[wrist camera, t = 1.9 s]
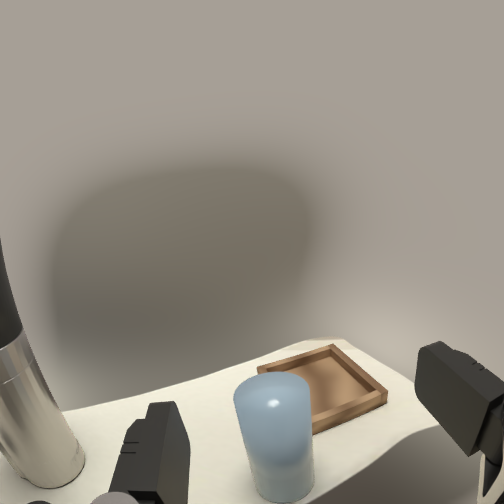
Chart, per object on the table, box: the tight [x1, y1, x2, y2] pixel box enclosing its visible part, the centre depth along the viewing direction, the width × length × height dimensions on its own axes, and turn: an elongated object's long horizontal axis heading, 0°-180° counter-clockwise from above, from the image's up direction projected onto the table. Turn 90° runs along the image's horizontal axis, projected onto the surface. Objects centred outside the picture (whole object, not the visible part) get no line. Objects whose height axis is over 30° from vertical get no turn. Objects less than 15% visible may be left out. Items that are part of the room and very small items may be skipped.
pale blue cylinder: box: [233, 372, 314, 504], centre depth 23 cm, size 6×6×12 cm
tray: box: [257, 344, 388, 435], centre depth 38 cm, size 12×14×2 cm
